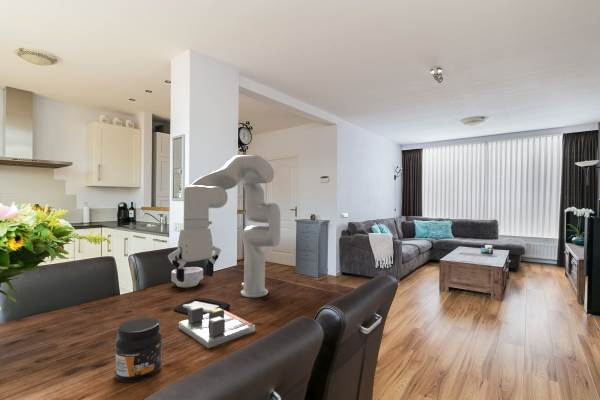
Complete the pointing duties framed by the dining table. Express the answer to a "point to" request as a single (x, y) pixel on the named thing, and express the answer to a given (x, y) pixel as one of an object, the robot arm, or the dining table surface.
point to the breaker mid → (216, 313)
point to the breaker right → (216, 326)
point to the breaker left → (195, 314)
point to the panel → (232, 330)
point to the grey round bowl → (188, 277)
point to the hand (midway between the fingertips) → (195, 278)
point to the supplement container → (138, 349)
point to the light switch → (201, 305)
